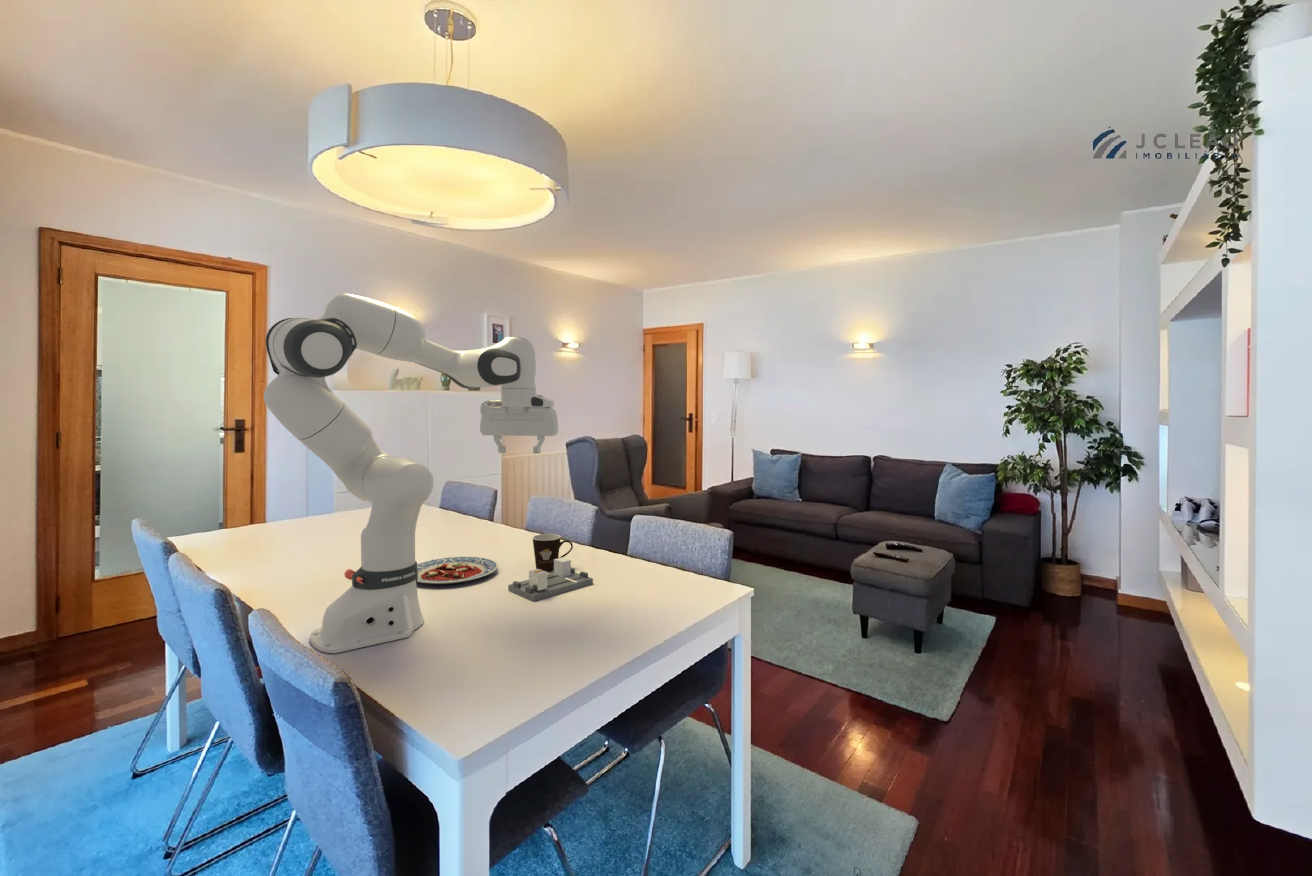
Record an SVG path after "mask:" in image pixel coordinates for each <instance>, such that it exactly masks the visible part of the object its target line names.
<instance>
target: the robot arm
mask: <svg viewBox="0 0 1312 876" xmlns="http://www.w3.org/2000/svg"><path fill="white" fill-rule="evenodd" d="M265 348H266V352H267V355H268V358H269V361H270V365H271V368H272V371H273V372H274V374H276V375H277V376H276V377H275V378H274V379H272V380H271V381H270V382H269V383H268V385H267V387H266V388H265V390H264V393H263V401H264V404H265V405H266V407H267V408H268V409H269V411H270V413H272V415H273V416H274V417H275V418H276V420H278V422H280V423H281V425H282V426H283V427H284V428H285V429H286V430H287V431H288V432H290V434H291V435H292V436H294V437H295V438H296V439H297V440H298V441H299V442H301V444H303V445H304V446H305V447H306V448H308V450H310V451H311V452H312V453H313V454H314V455H315V456H316V457H318V458H319V459H320V460H321V461H323V462H324V463H325V464H326V465H327V466H328V467H329V468H330V470H331V471H333V473H334V474H335V475H336V477H337V478H338V479H339V480H340V481H341V483H342V484H343V485H344V487H345V488H346V490H347V491H348V492H349V493H350V494H352V495H353V496H354V497H356V498H357V499H358V500H361V501H362V502H368V503H370V504H371V511H370V514H369V518H368V521H367V524H366V526H365V527H364V528H363V529H362V531H361V533H360V554H361V555H360V561H361V564H360V565H361V566H360V567H359V569H356V571H355V570H354V569H351V568H350V569H346V570H345V572H344V578H346V579H347V580H350V581H351V586H350V588H348V589H347V590H346V591H344V592H343V594H341V595H340V596H339V597H338V598H336V599H335V600H333V602H332V603H330V604H329V605H328V606H327V608H326V609H325V611H324V613H323V617H322V621H321V622H322V623H321V627H320V628H316V629H314V630H313V631H312V632H311V633H310V635H309V636H310V638H309V641H310V644H311V645H312V646H313V647H314V648H315V649H316V650H318V651H320V652H322V653H326V654H339V653H342V652H347V651H348V652H349V651H351V650H355V649H361V648H364V647H365V648H366V647H369V646H374V645H378V644H383V643H387V642H388V643H389V642H392V641H396V640H397V641H398V640H402V639H406V638H410V637H411V636H412V635H413V633H414V631H415V630H417V629H418V628H420V627H421V626H422V625H423V623H424V621H425V618H424V616H423V614H422V610H421V606H420V601H419V595H418V588H417V585H418V584H419V582H418V568H417V564H418V562H417V561H416V529H417V525H418V524H417V522H418V519H419V514H420V512H421V509H422V506H423V504H425V502H426V501H427V500H428V498H429V497H430V496H431V494H432V492H433V490H434V477H433V474H432V473H431V470H429V468H428V467H427V466H425V465H424V464H422V463H420V462H419V461H416V460H414V459H413V458H412V459H411V458H409V457H408V458H407V457H399V456H393V455H390V454H389V453H387V452H385V451H384V450H383V449H382V448H381V447H380V446H379V444H378V443H377V441H376V440H375V438H374V436H373V435H372V433H373V431H372V429H371V427H370V426H368V424H367V423H365V421H363V419H362V418H360V416H358V415H357V413H355V412H354V411H353V410H352V409H351V408H350V407H349V406H348V405H347V404H346V403H345V402H344V401H343V400H342V399H340V397H338V395H336V394H335V393H334V392H333V391H332V389H331V388H330V387H329V386H328V384H327V381H326V377H330V376H332V375H335V374H336V373H339V372H340V371H341V369H343V368H344V366H345V365H346V364H347V362H348V360H349V358H350V356H352V355H353V353H354V351H355V350H360V351H364V352H367V353H370V354H373V355H376V356H379V357H383V358H387V359H391V360H394V361H400V362H401V361H402V362H409V363H414V364H418V365H420V366H422V367H425V368H427V369H431V370H434V371H436V372H439V373H442V374H443V375H445V377H447V378H449V379H450V380H451V381H452V382H453V383H455V384H456V385H457V386H459V387H461V388H463V389H467V390H471V389H477V388H488V387H499V386H500V387H501V390H500V392H501V394H500V395H501V399H500V400H499V399H498V400H496V399H495V400H489V399H488V400H485V401H483V402H482V403H481V405H480V415H481V417H480V423H479V432H480V433H481V435H482V436H493V441H494V443H495V445H496V446H497V453H499V454H504V453H506V448H507V446H506V445H503V443H502V442H501V440H502V438H503V437H502V436H509V437H511V436H516V437H521V436H523V437H524V436H527V437H528V436H531V437H536V439H537V441H538V442H537V444H536V445H535V446H533V448H532V453H533V454H540V453H542V452H541V448H542V445H543V443H544V442H545V440H546V438H545V437H554V436H557V434H558V433H559V422H558V421H559V420H558V415H557V412H556V409H554V405H555V401H554V399H552V398H549V397H546V396H543V395H540V394H537V387H536V383H535V377H536V375H537V362H536V361H537V360H536V353H535V349H534V345H533V342H531V341H530V340H529V339H526V338H523V337H520V336H505V337H504V338H503V339H502V340H501V341H498V342H497V343H495V344H493V345H489V346H487V347H485V348H484V347H483V348H478V349H477V348H475V349H462V350H461V349H460V350H453V349H450V348H448V347H446V346H443V345H441V344H439V343H436V342H433V341H431V340H429V339H427V338H426V331H425V327H424V325H423V323H422V321H421V320H420V319H419V318H418V317H416V316H414V315H413V314H411V313H409V312H407V311H405V310H403V309H401V308H399V307H396V306H393V305H391V304H388V303H385V302H382V301H380V300H377V299H373V298H369V297H367V296H361V295H357V294H352V293H340V294H337V295H336V296H334V297H333V298H332V299H331V300H330V301H329V302H328V304H327V306H325V310H324V313H323V314H322V316H320V317H319V318H309V317H288V318H284V319H281V320H279V321H277V322H276V323H274V324H273V325H272V326H271V327H270V328H269V330H268V332H267V334H266V337H265Z"/></svg>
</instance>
